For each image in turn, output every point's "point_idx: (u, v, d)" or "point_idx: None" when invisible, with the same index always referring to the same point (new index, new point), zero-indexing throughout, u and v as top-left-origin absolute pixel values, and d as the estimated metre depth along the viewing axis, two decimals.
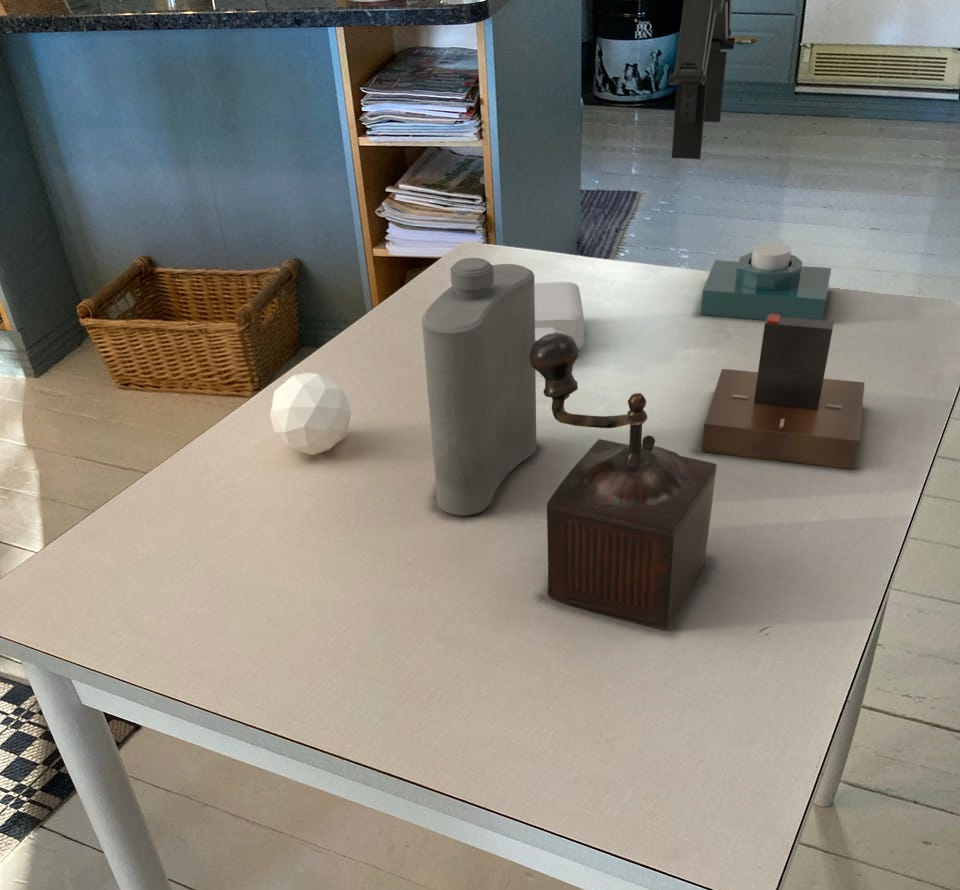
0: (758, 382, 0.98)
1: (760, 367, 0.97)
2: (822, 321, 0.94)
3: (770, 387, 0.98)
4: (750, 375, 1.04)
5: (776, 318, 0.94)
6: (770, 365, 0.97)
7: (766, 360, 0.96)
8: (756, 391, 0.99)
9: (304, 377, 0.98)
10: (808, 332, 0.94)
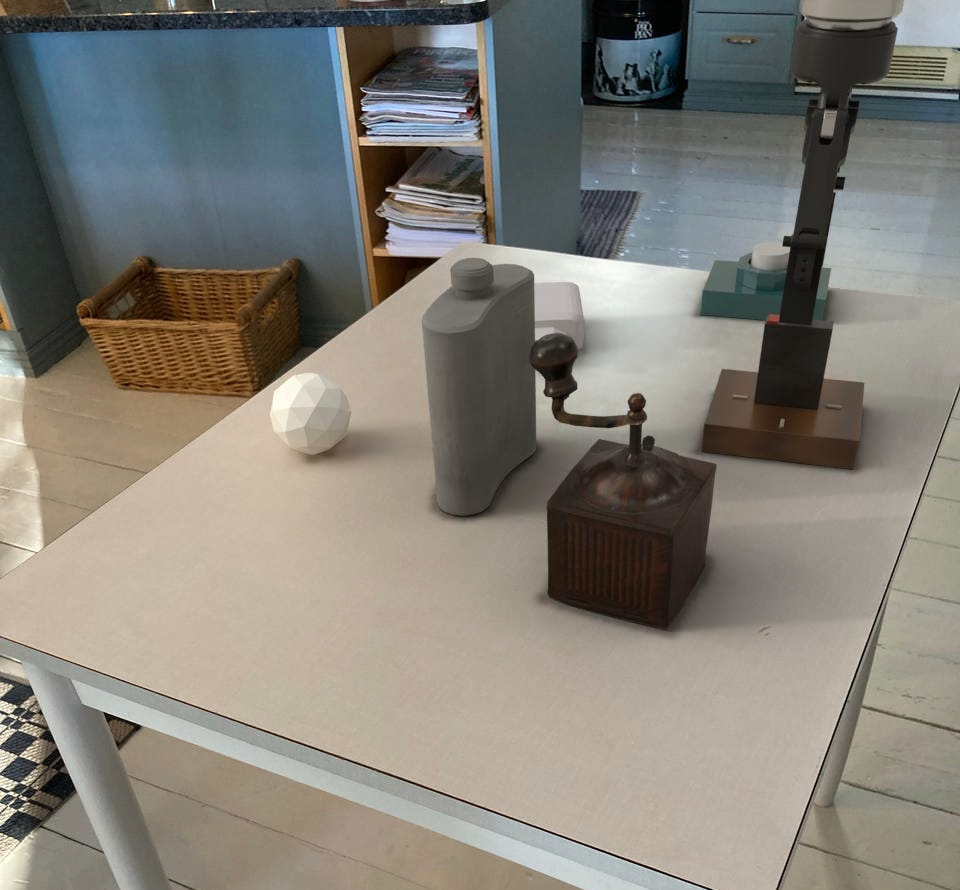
0: (758, 382, 0.98)
1: (760, 367, 0.97)
2: (822, 321, 0.94)
3: (770, 387, 0.98)
4: (750, 375, 1.04)
5: (776, 318, 0.94)
6: (770, 365, 0.97)
7: (766, 360, 0.96)
8: (756, 391, 0.99)
9: (304, 377, 0.98)
10: (808, 332, 0.94)
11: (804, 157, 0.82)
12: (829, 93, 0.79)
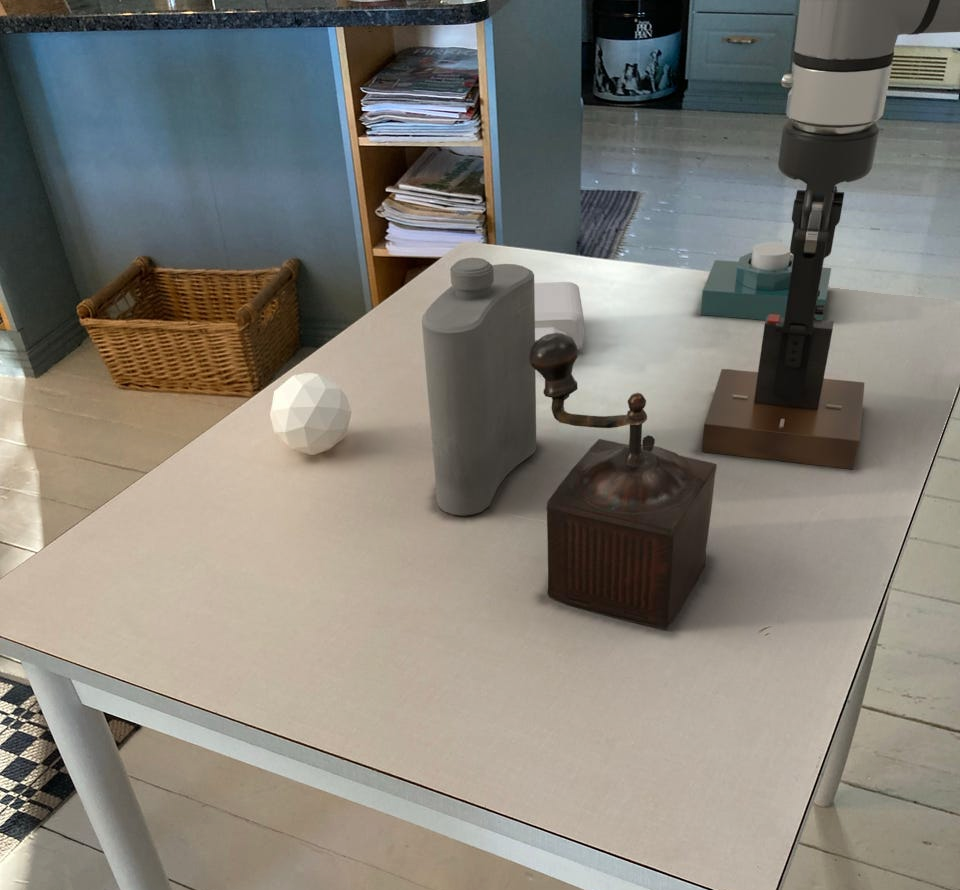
0: (758, 382, 0.98)
1: (760, 366, 0.97)
2: (822, 321, 0.94)
3: (770, 387, 0.98)
4: (750, 375, 1.04)
5: (776, 318, 0.94)
6: (770, 365, 0.97)
7: (766, 360, 0.96)
8: (756, 391, 0.99)
9: (304, 377, 0.98)
10: None
11: (792, 253, 0.89)
12: (814, 190, 0.83)
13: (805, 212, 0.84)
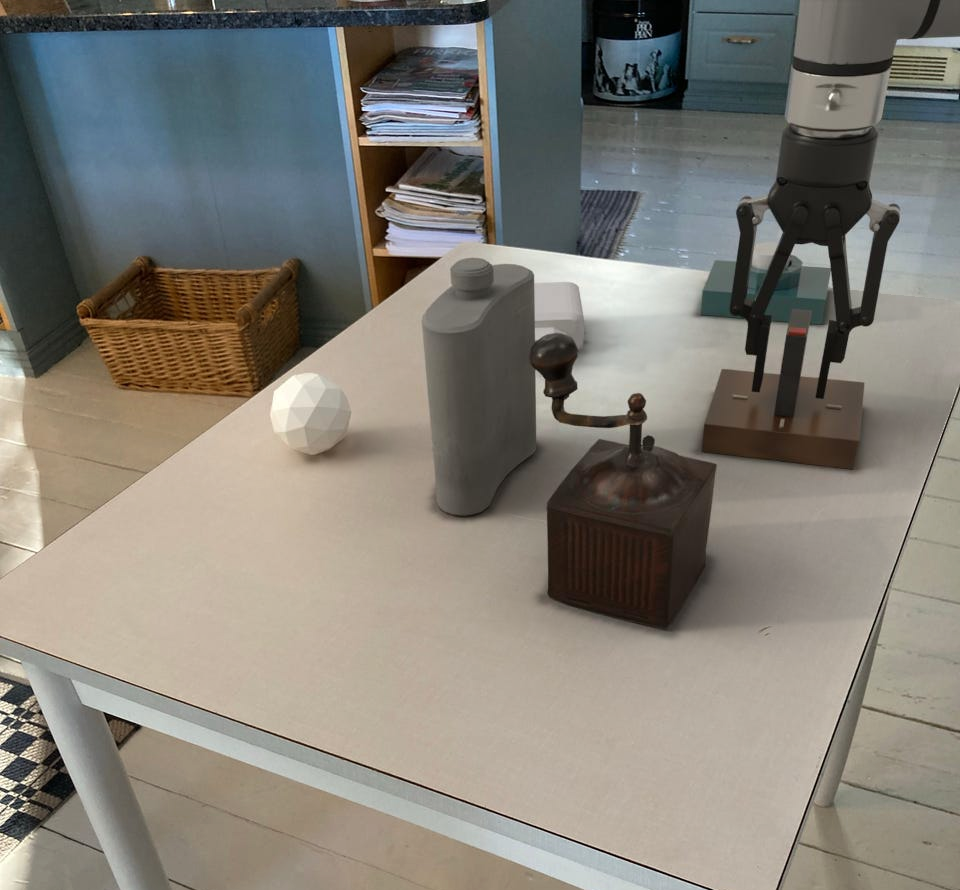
0: None
1: (799, 380, 0.95)
2: (793, 312, 0.96)
3: (797, 393, 0.97)
4: (750, 375, 1.04)
5: (799, 329, 0.93)
6: None
7: (801, 370, 0.95)
8: (795, 405, 0.96)
9: (304, 377, 0.98)
10: (809, 324, 0.95)
11: (842, 255, 0.88)
12: (868, 184, 0.85)
13: (869, 206, 0.86)
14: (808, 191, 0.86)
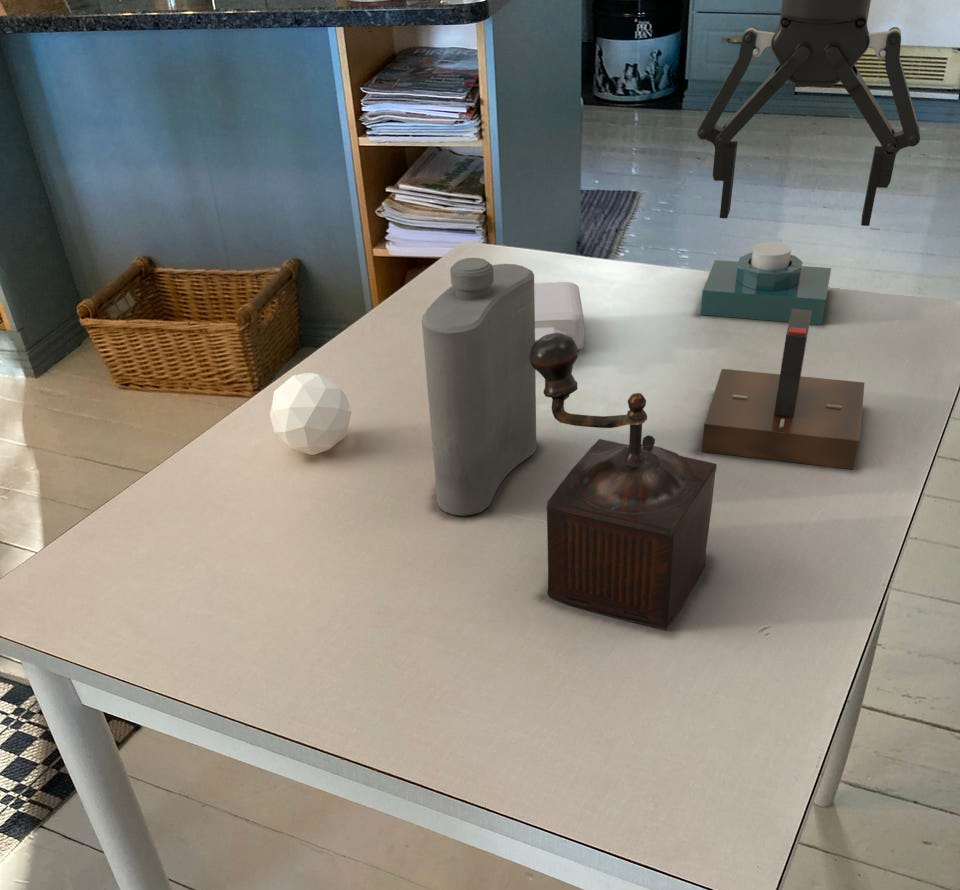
0: None
1: (799, 380, 0.95)
2: (793, 312, 0.96)
3: (797, 393, 0.97)
4: (750, 375, 1.04)
5: (799, 329, 0.93)
6: None
7: (801, 370, 0.95)
8: (795, 405, 0.96)
9: (304, 377, 0.98)
10: (809, 324, 0.95)
11: (859, 84, 0.93)
12: (866, 23, 0.91)
13: (867, 45, 0.91)
14: (810, 44, 0.92)
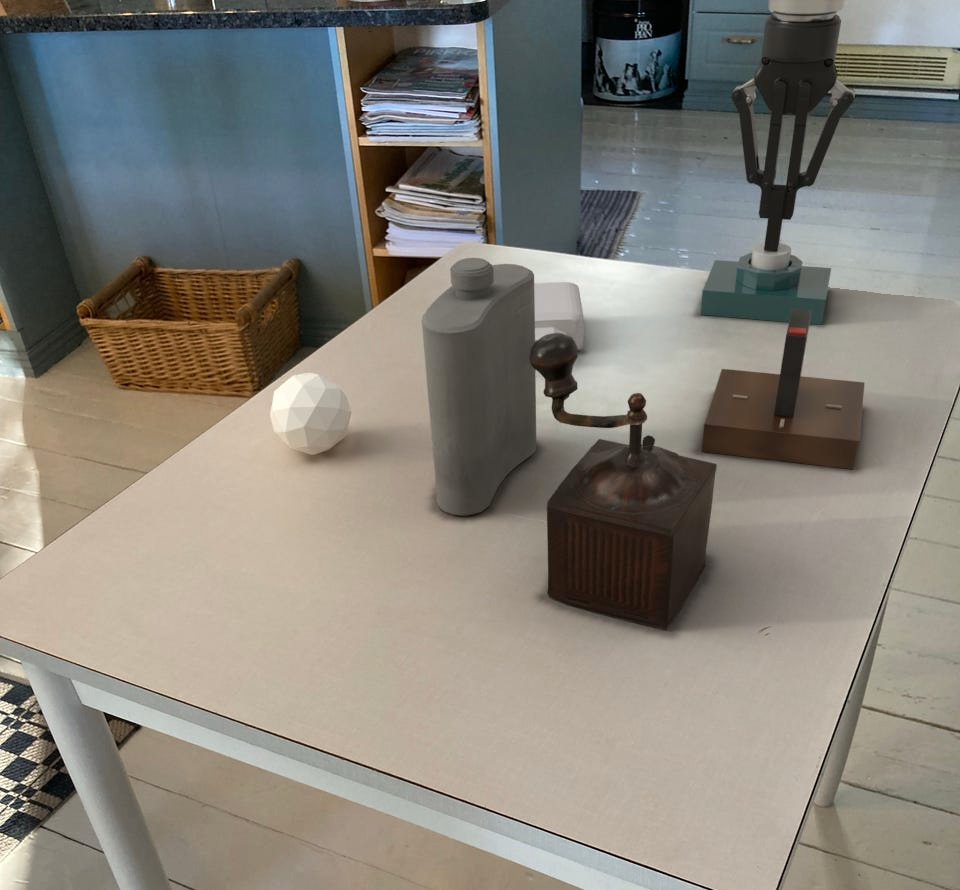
0: None
1: (799, 380, 0.95)
2: (793, 312, 0.96)
3: (797, 393, 0.97)
4: (750, 375, 1.04)
5: (799, 329, 0.93)
6: None
7: (801, 370, 0.95)
8: (795, 405, 0.96)
9: (304, 377, 0.98)
10: (809, 324, 0.95)
11: (804, 125, 1.10)
12: (834, 62, 1.07)
13: (834, 81, 1.07)
14: (784, 63, 1.08)
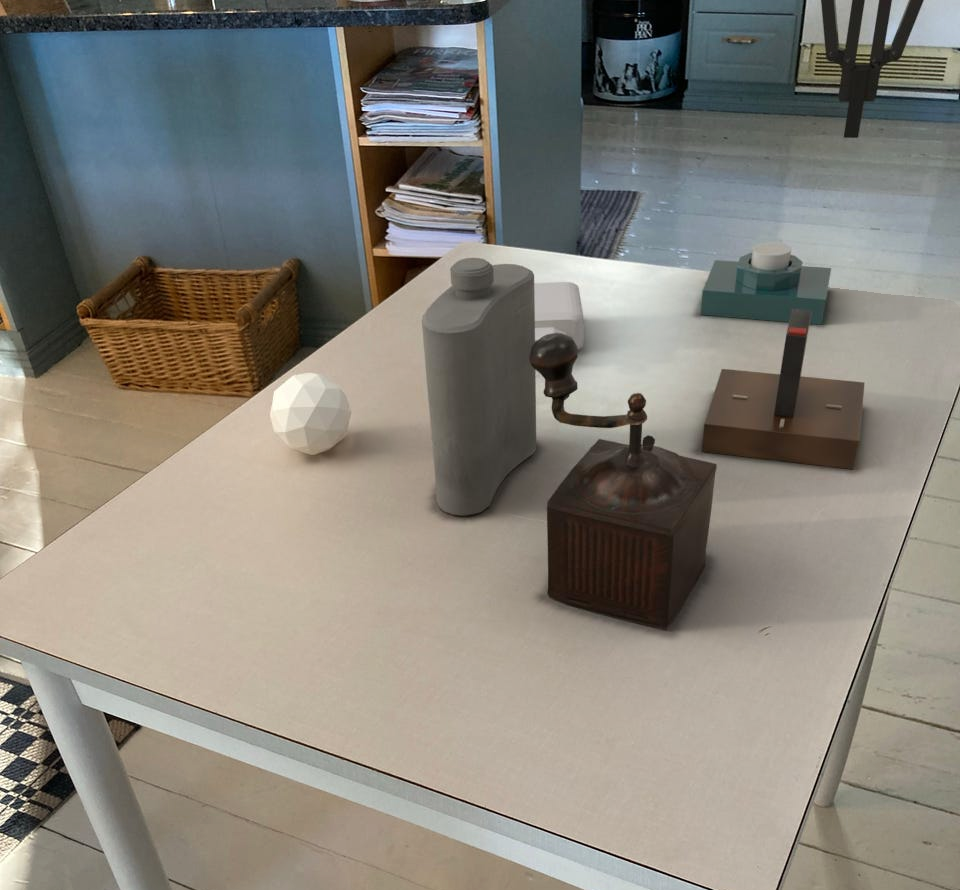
0: None
1: (799, 380, 0.95)
2: (793, 312, 0.96)
3: (797, 393, 0.97)
4: (750, 375, 1.04)
5: (799, 329, 0.93)
6: None
7: (801, 370, 0.95)
8: (795, 405, 0.96)
9: (304, 377, 0.98)
10: (809, 324, 0.95)
11: None
12: None
13: None
14: None
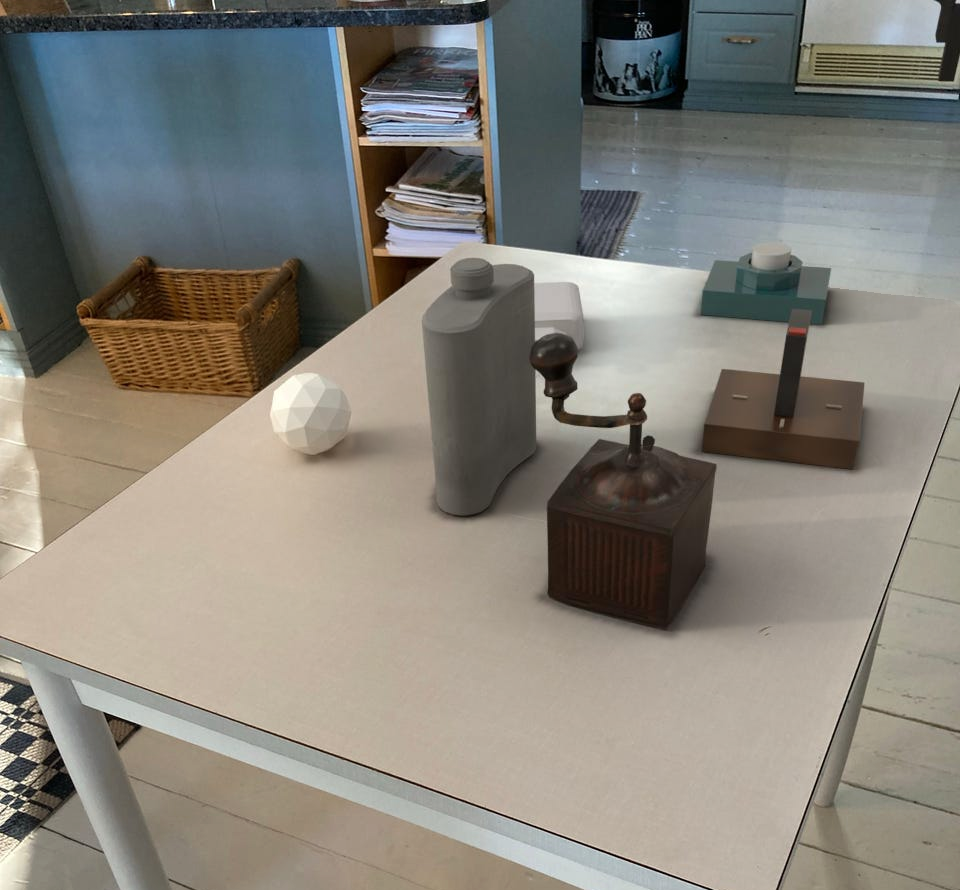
0: None
1: (799, 380, 0.95)
2: (793, 312, 0.96)
3: (797, 393, 0.97)
4: (750, 375, 1.04)
5: (799, 329, 0.93)
6: None
7: (801, 370, 0.95)
8: (795, 405, 0.96)
9: (304, 377, 0.98)
10: (809, 324, 0.95)
11: None
12: None
13: None
14: None
